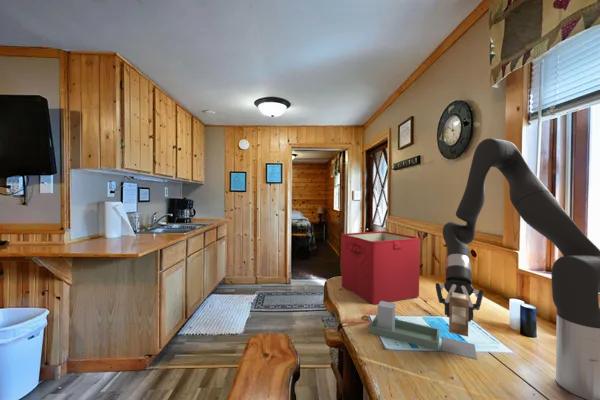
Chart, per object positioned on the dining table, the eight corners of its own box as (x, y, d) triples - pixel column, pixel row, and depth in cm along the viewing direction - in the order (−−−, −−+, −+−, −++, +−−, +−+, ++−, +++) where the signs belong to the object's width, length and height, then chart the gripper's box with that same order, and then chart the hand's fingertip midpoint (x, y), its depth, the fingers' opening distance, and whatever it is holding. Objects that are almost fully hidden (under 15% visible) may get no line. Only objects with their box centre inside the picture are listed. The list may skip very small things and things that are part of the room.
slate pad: (474, 346, 84) (474, 344, 84) (477, 361, 77) (477, 359, 77) (442, 338, 89) (442, 336, 89) (441, 352, 81) (441, 350, 81)
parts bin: (439, 337, 90) (439, 328, 90) (438, 352, 81) (438, 343, 81) (376, 322, 100) (376, 314, 100) (369, 333, 91) (369, 325, 91)
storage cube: (369, 307, 114) (370, 240, 114) (337, 287, 140) (337, 232, 140) (424, 297, 126) (425, 237, 126) (386, 280, 152) (386, 230, 152)
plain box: (394, 328, 95) (395, 303, 94) (392, 334, 90) (392, 308, 90) (380, 325, 97) (380, 300, 97) (377, 330, 93) (377, 305, 93)
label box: (467, 328, 84) (467, 294, 84) (468, 337, 79) (468, 300, 79) (449, 324, 87) (449, 291, 86) (448, 332, 82) (449, 296, 82)
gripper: (435, 261, 93) (432, 308, 82) (484, 267, 86) (488, 319, 75) (435, 272, 97) (433, 318, 87) (482, 279, 90) (485, 329, 80)
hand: (458, 318), depth 81 cm, fingers closed on label box, 5 cm apart
